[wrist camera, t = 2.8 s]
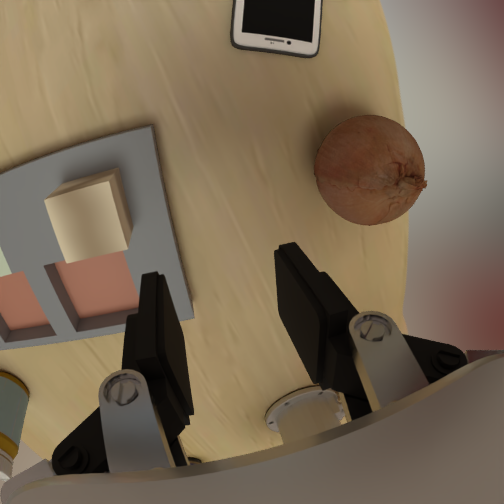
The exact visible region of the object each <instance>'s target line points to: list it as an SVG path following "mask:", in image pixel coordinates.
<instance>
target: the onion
mask: <svg viewBox="0 0 504 504" xmlns="http://www.w3.org/2000/svg"><path fill="white" fill-rule="evenodd" d="M424 166H425V165H424V160H423V155H422V153H421V150H420V148H419V146H418V144H417V142H416V140H415V139H414V138H413V137H412V135H411V134H410V133H409V132H408V131H407V130H406V129H405V128H404V127H402V126H401V125H400V124H398V123H397V122H395V121H393V120H391V119H388V118H385V117H382V116H376V115H363V116H357V117H354V118H351V119H348V120H346V121H344V122H342V123H341V124H339V125H338V126H336V127H335V128H334V129H333V130H332V131H331V132H330V133H329V134H328V135H327V136H326V138H325V139H324V141H323V143H322V145H321V147H320V148H319V149H318V153H317V156H316V160H315V165H314V175H315V177H316V182H317V185H318V189H319V191H320V193H321V195H322V197H323V199H324V201H325V202H326V203H327V205H328V206H329V207H330V208H331V209H332V210H333V211H335V212H336V213H337V214H338V215H339V216H341V217H342V218H344V219H346V220H348V221H350V222H353V223H356V224H360V225H368V226H370V225H377V224H382V223H386V222H389V221H392V220H394V219H396V218H398V217H400V216H401V215H403V214H404V213H405V212H406V211H408V210H409V209H410V208H411V207H412V206H413V204H414V202H415V201H416V200H417V198H418V196H419V195H420V193H421V191H422V188H426V186H427V184H426V183H427V181H424V176H425V167H424Z"/></svg>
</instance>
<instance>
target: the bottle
mask: <svg viewBox="0 0 504 504" xmlns="http://www.w3.org/2000/svg"><path fill="white" fill-rule="evenodd" d="M28 401H29V393H28V391H27V389H26V387H25V386H24V384H23V383H22V382H21V381H20V380H18V379H17V378H16V377H14V376H12V375H10V374H8V373H5V372H0V480H3V481H7V480H9V479H11V475H12V468H13V467H12V465H13V460H14V458H15V457H16V455H17V454H18V449H19V443H20V438H21V433H22V428H23V423H24V418H25V414H26V409H27V405H28Z"/></svg>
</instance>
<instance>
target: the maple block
mask: <svg viewBox="0 0 504 504" xmlns="http://www.w3.org/2000/svg"><path fill="white" fill-rule="evenodd" d="M44 202H45V205H46V208H47V211H48V214H49V217H50V220H51V223H52V226H53V229H54V232H55V235H56V237H57V240H58V243H59V245H60V248H61V251H62V253H63V256H64V258H65V261H66V263H71V262H76V261H80V260H84V259H88V258H93V257H97V256H101V255H105V254H110V253H114V252H118V251H123V250H127V249H128V247H129V243H130V239H131V235H132V231H133V227H134V226H133V223H132V219H131V215H130V212H129V208H128V204H127V200H126V196H125V192H124V188H123V184H122V179H121V175H120V171H119V168H115V169H111V170H108V171H104V172H100V173H96V174H93V175H89V176H86V177H82V178H79V179H76V180H72V181H69V182H66V183H63V184H61V185H60V186H59V187H58V188H56V189H55V190H54V191H53V192H52V193H51V194H50V195H49V196H48V197H47V198H46V199H44Z"/></svg>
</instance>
